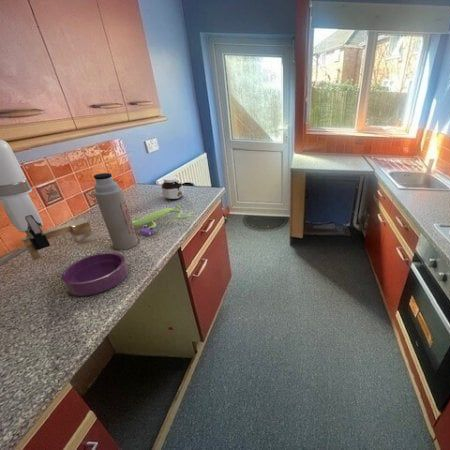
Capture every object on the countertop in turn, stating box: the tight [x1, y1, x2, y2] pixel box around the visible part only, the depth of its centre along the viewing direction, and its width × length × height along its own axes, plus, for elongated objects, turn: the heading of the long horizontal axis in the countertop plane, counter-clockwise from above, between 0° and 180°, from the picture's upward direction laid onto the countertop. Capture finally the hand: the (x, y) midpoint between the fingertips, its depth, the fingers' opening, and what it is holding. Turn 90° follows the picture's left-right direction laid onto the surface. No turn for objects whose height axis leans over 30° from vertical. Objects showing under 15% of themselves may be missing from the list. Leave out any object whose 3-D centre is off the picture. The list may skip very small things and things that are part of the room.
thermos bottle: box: [93, 172, 139, 251], centre depth 91 cm, size 8×8×28 cm
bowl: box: [60, 252, 129, 297], centre depth 78 cm, size 16×16×5 cm
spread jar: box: [161, 175, 185, 201], centre depth 139 cm, size 12×11×12 cm
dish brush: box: [20, 217, 97, 261], centre depth 78 cm, size 15×5×7 cm, turn 147°
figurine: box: [131, 204, 196, 236], centre depth 112 cm, size 18×27×6 cm
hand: (41, 245), depth 75 cm, fingers closed on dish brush
